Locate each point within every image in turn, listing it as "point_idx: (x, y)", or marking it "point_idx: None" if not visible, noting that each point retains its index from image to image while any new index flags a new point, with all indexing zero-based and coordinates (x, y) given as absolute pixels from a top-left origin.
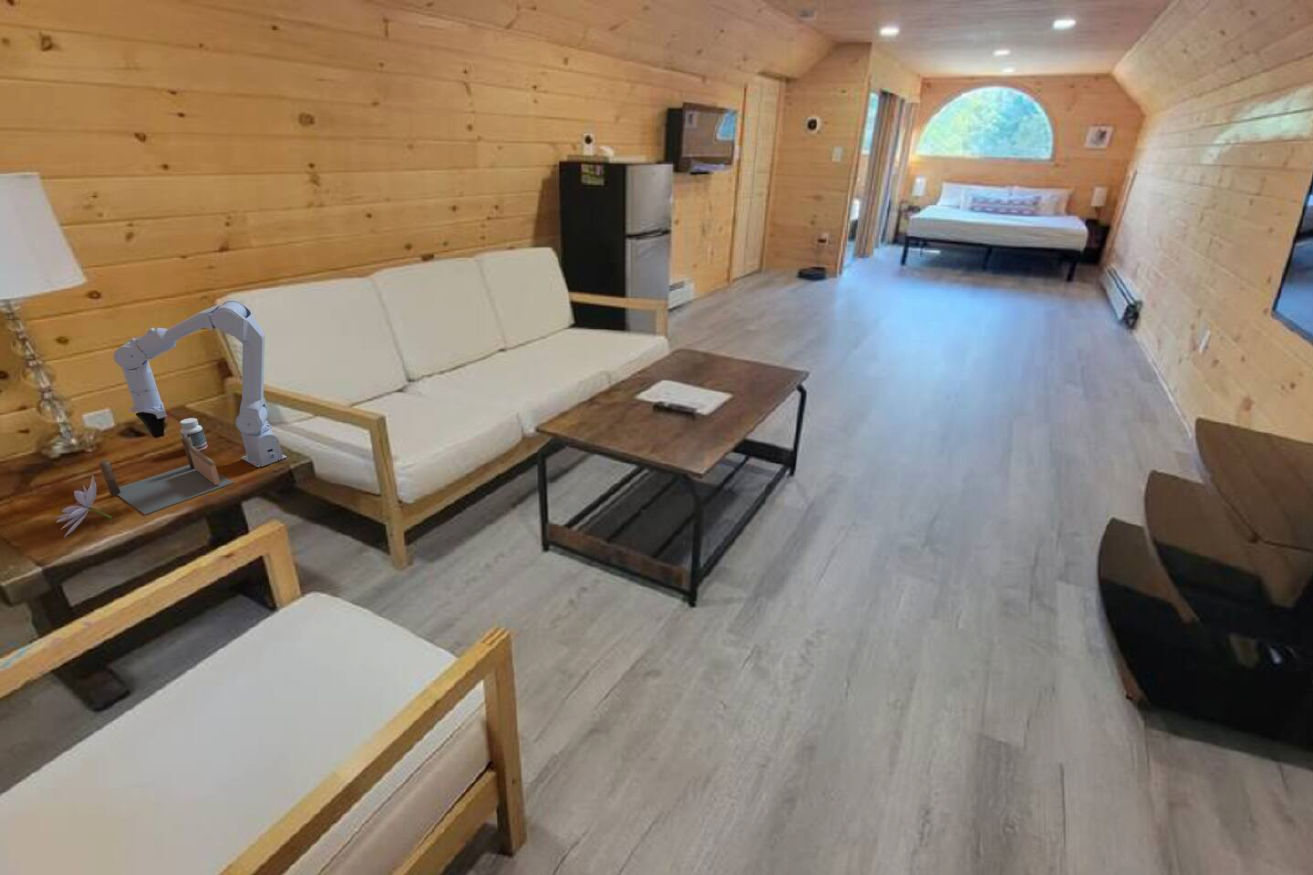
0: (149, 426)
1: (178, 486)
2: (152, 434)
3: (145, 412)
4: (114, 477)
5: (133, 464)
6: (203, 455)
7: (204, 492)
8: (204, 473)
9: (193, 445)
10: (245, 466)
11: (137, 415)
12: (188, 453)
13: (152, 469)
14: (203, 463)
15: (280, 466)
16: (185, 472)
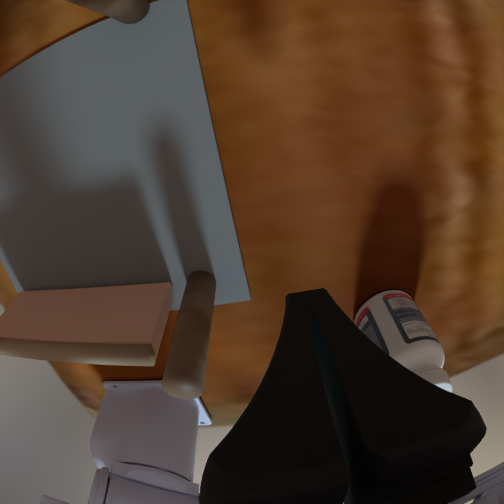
0: (266, 376)
1: (59, 208)
2: (293, 308)
3: (377, 500)
4: (88, 8)
5: (421, 119)
6: (30, 356)
7: (1, 258)
8: (71, 297)
9: (366, 325)
10: (131, 368)
11: (400, 453)
12: (177, 322)
13: (312, 157)
14: (31, 329)
15: (96, 401)
16: (171, 249)
